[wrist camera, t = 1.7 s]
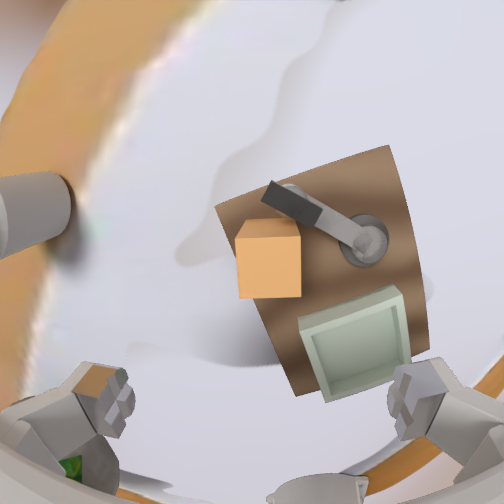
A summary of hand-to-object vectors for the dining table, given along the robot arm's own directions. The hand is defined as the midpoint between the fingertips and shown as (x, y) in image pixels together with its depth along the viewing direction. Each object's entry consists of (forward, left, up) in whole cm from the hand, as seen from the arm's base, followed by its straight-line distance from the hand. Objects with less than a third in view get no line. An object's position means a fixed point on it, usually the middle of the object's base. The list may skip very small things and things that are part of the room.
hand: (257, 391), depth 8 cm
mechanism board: (-7, -5, -20) cm, 21 cm away
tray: (-13, -5, -18) cm, 23 cm away
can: (+12, +21, -20) cm, 32 cm away
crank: (0, -5, -17) cm, 18 cm away
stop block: (0, 0, -18) cm, 18 cm away
